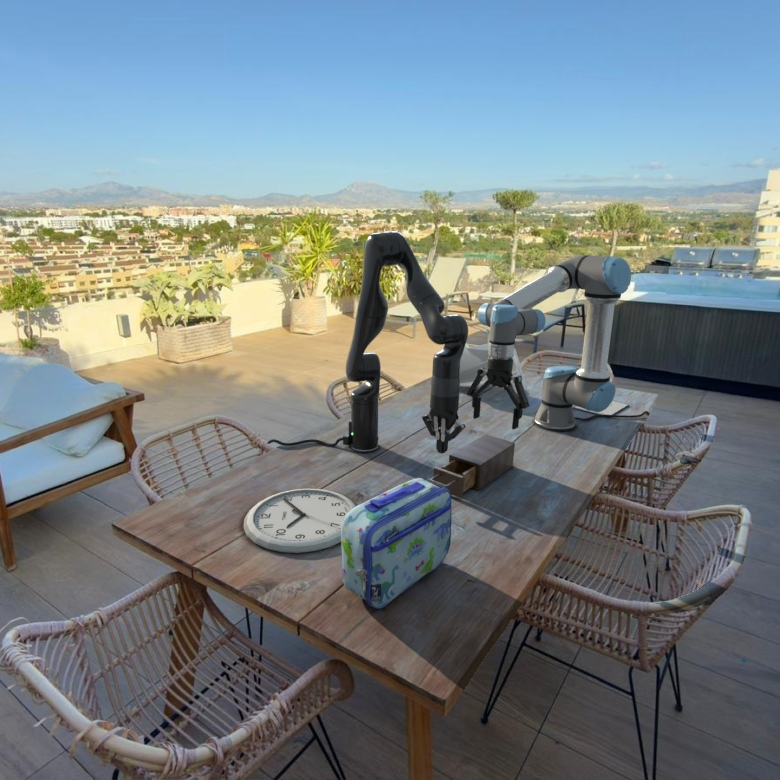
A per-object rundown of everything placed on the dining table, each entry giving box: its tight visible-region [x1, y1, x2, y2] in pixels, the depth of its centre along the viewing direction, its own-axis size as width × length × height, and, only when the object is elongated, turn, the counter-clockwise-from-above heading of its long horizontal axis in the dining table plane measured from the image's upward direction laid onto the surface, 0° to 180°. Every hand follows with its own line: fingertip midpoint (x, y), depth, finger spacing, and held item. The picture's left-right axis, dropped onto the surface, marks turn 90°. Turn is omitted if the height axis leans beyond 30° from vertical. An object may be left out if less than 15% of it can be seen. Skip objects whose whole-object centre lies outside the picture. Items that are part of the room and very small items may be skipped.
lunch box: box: [340, 477, 452, 610], centre depth 110 cm, size 26×11×21 cm, turn 134°
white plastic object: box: [459, 342, 531, 397], centre depth 245 cm, size 37×45×31 cm
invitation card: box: [573, 400, 629, 415], centre depth 226 cm, size 21×1×15 cm
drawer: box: [425, 459, 477, 499], centre depth 153 cm, size 26×10×6 cm, turn 140°
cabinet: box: [448, 433, 516, 491], centre depth 162 cm, size 22×11×8 cm, turn 140°
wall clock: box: [243, 488, 357, 554], centre depth 136 cm, size 30×2×30 cm
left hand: (441, 452), depth 142 cm, fingers closed
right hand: (495, 422), depth 164 cm, fingers open, 13 cm apart
